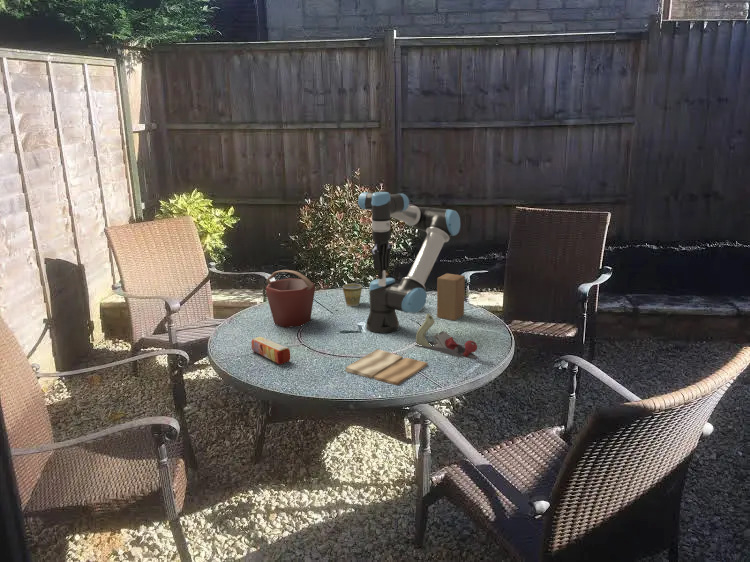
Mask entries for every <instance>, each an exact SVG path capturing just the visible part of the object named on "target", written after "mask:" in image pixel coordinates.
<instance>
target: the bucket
mask: <svg viewBox="0 0 750 562" xmlns="http://www.w3.org/2000/svg"><path fill="white" fill-rule="evenodd" d="M279 273H288V274H293V275H295V276H296V277H298V278H290V277H289V278H283V279H277V280H272V281H271V279H273V278H275V276H277V274H279ZM266 284H267V285H266V286H265V291H266V292H265V294H266V297H267V301H268V305H269V308H270V312H271V317H272V319H273V324H274V323H275V324H274V325H276V324H278V325H277V326H279V325H281V326H280V327H282V326H283V327H282V328H291V327H290V326H301V325H303V324H305V323H307V322H309V321H310V322H311V318H312V310H313V306H314V305H313V304H314V300H315V299H314V298H315V292H316V286H315V283H313V281H311V280H310V279H309V278H308V277H306V276H305V275H304V274H303V273H301V272H299V271H296V270H291V269H290V270H289V269H281V270H277V271H274V272H272V274H271V275H270V276H269V277H267V279H266ZM310 322H309V323H310ZM307 324H308V323H307ZM305 325H306V324H305ZM303 326H304V325H303ZM301 327H302V326H301Z"/></svg>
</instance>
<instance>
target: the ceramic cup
mask: <svg viewBox="0 0 750 562" xmlns="http://www.w3.org/2000/svg"><path fill="white" fill-rule="evenodd" d="M362 289H363V285H362V284H360V283H346V284H343V285H342V290H343V294H344V300H345V303H346V306H347V307H351V306H352V307H358V306H359V305H360V302H361V296H362Z"/></svg>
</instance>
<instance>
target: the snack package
mask: <svg viewBox="0 0 750 562" xmlns="http://www.w3.org/2000/svg"><path fill="white" fill-rule="evenodd" d="M251 350H252V352H253V353H257V354H258V355H261V356H263V357H264V358H266V359H269V360H270V361H273V362H274V363H275V364H278V365H283V363H284V364H286V363H285V362H287V363H289V362H290V360H291V350H290V348H289V347H287V346H285V345H284V346H283V345H282V344H280V343H278V342H274V341H272V340H270V339H268V338H265V337H262V336H258V337H257V336H256V337H255V338H252V340H251Z"/></svg>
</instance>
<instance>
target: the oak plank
mask: <svg viewBox="0 0 750 562" xmlns="http://www.w3.org/2000/svg"><path fill="white" fill-rule="evenodd" d="M427 366H428V362H426V361H423V360H422V361H421V360H417V359H412V358H409V357H404V358H402V360H401V361H399V362H398V363H396V364H394V365H393V366H391V367H390V368H388V369H386V370H385V371H383V372H381V373H380V374H378V375H377V376H375V378H374V380H377V381H380V382H383V383H388V384H390V385H391V384H392V385H395V386H399V385H400V384H401V383H403V382H405V381H406V380H408V379H409V378H410V377H412V376H413V375H416V374H417V373H419V371H421V370H422V369H424V368H425V367H427Z"/></svg>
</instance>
